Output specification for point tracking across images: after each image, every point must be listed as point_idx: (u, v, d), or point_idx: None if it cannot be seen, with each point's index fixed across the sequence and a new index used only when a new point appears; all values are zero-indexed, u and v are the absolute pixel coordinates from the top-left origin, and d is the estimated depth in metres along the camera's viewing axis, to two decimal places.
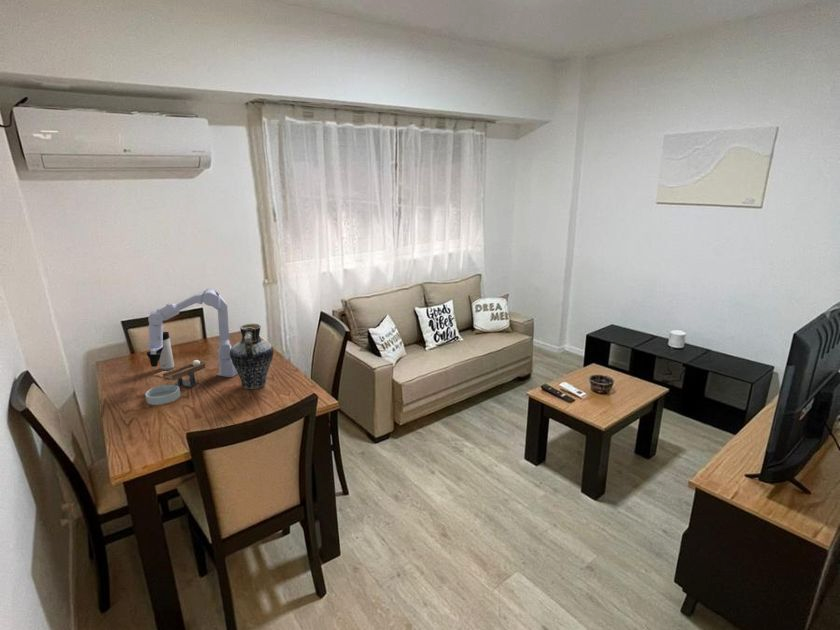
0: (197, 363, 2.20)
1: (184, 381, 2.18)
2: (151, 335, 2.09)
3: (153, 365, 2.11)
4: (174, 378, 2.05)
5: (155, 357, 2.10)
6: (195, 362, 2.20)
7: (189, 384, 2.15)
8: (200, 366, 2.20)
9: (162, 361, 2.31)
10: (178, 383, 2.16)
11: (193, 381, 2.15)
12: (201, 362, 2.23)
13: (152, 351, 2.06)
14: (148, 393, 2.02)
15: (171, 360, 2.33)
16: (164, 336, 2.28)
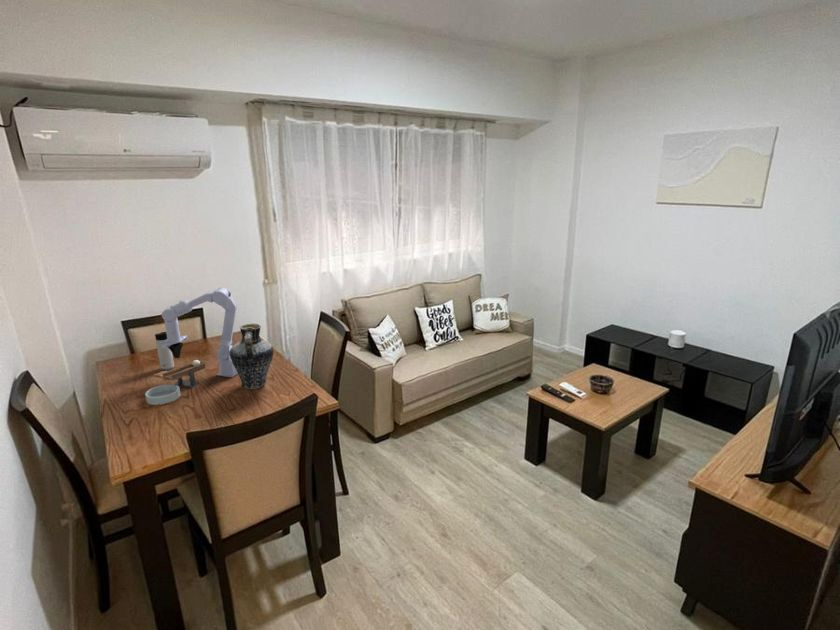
0: (197, 363, 2.20)
1: (184, 381, 2.18)
2: (167, 331, 2.15)
3: (175, 356, 2.21)
4: (174, 378, 2.05)
5: None
6: (195, 362, 2.20)
7: (189, 384, 2.15)
8: (200, 366, 2.20)
9: (162, 361, 2.31)
10: (178, 383, 2.16)
11: (193, 381, 2.15)
12: (201, 362, 2.23)
13: (162, 346, 2.13)
14: (148, 393, 2.02)
15: (171, 360, 2.33)
16: (164, 336, 2.28)
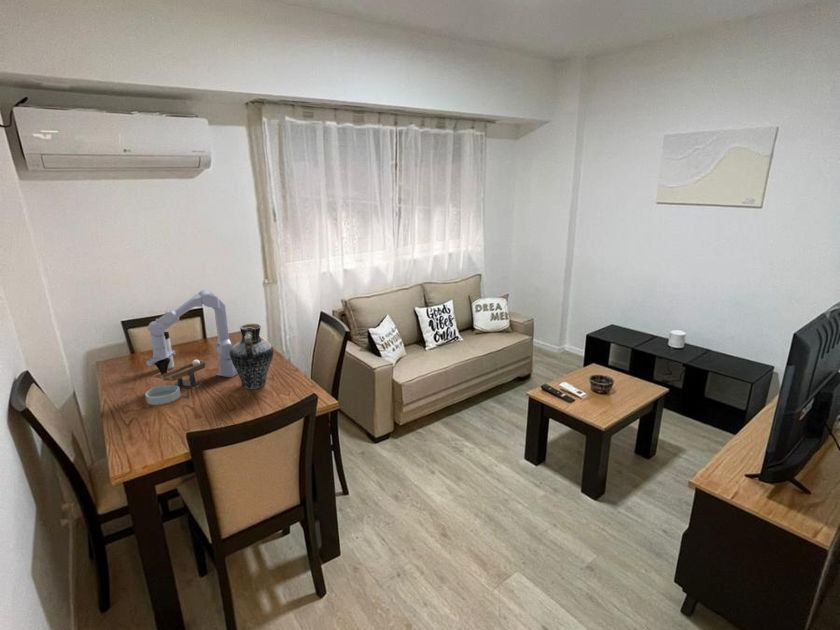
0: (197, 363, 2.20)
1: (184, 381, 2.18)
2: (156, 346, 2.04)
3: (162, 373, 2.10)
4: (174, 379, 2.05)
5: None
6: (195, 362, 2.20)
7: (189, 384, 2.15)
8: (200, 366, 2.20)
9: None
10: (178, 383, 2.16)
11: (193, 381, 2.15)
12: (201, 362, 2.23)
13: (147, 362, 2.02)
14: (148, 393, 2.02)
15: (171, 360, 2.33)
16: None
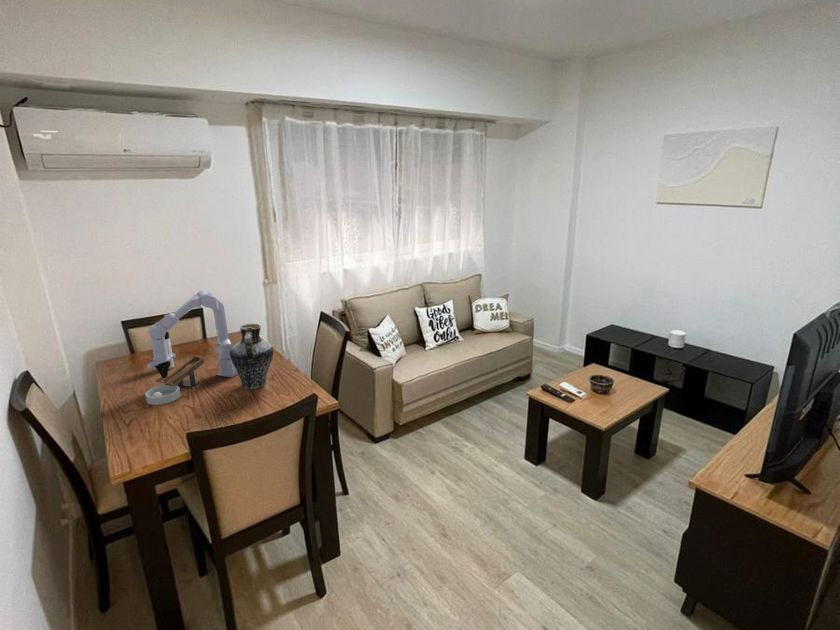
0: (161, 396, 2.01)
1: (184, 381, 2.18)
2: (156, 349, 2.04)
3: (162, 376, 2.10)
4: (175, 383, 2.06)
5: None
6: None
7: (189, 384, 2.15)
8: (199, 363, 2.19)
9: None
10: (178, 383, 2.16)
11: (193, 381, 2.15)
12: (199, 358, 2.21)
13: (148, 365, 2.02)
14: (148, 393, 2.02)
15: (171, 360, 2.33)
16: (164, 336, 2.28)
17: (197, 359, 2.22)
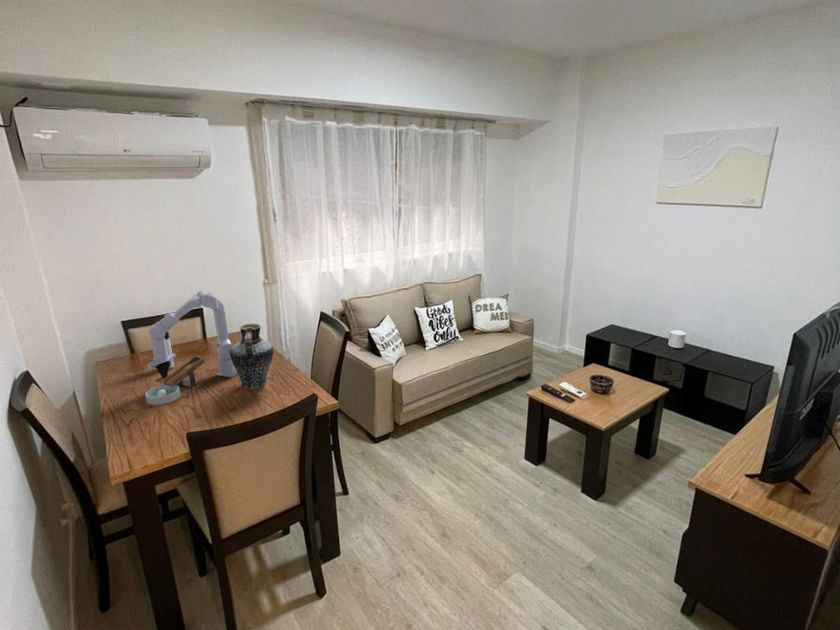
0: (164, 395, 2.02)
1: (184, 381, 2.18)
2: (156, 349, 2.04)
3: (162, 376, 2.10)
4: (175, 383, 2.06)
5: None
6: None
7: (189, 384, 2.15)
8: (199, 363, 2.19)
9: None
10: (178, 383, 2.16)
11: (193, 381, 2.15)
12: (199, 358, 2.21)
13: (148, 365, 2.02)
14: (148, 393, 2.02)
15: (171, 360, 2.33)
16: (164, 336, 2.28)
17: (197, 359, 2.22)
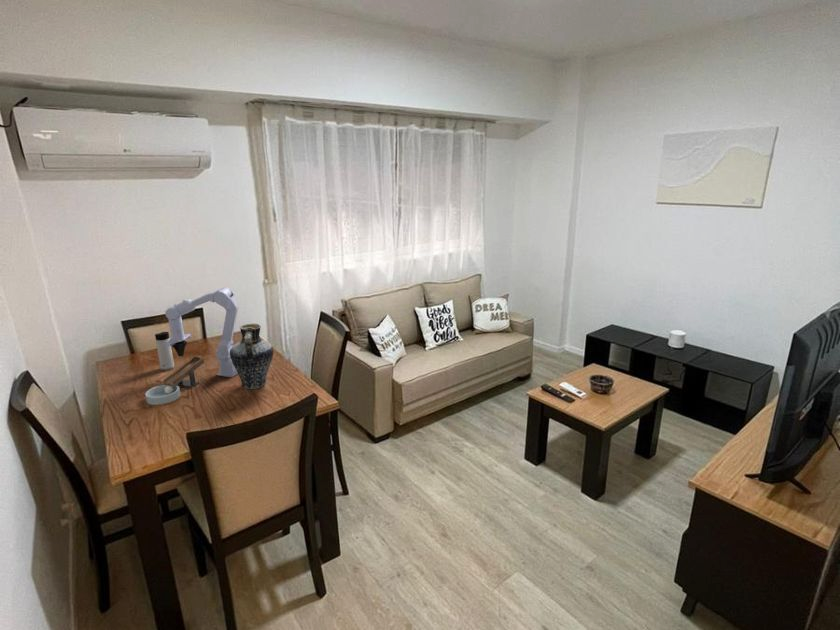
0: (170, 388, 2.05)
1: (184, 381, 2.18)
2: (171, 329, 2.18)
3: (179, 355, 2.24)
4: (175, 383, 2.06)
5: None
6: (168, 387, 2.05)
7: (189, 384, 2.15)
8: (199, 363, 2.19)
9: (162, 361, 2.31)
10: (178, 383, 2.16)
11: (193, 381, 2.15)
12: (199, 358, 2.21)
13: (166, 344, 2.15)
14: (148, 393, 2.02)
15: (171, 360, 2.33)
16: (164, 336, 2.28)
17: (197, 359, 2.22)
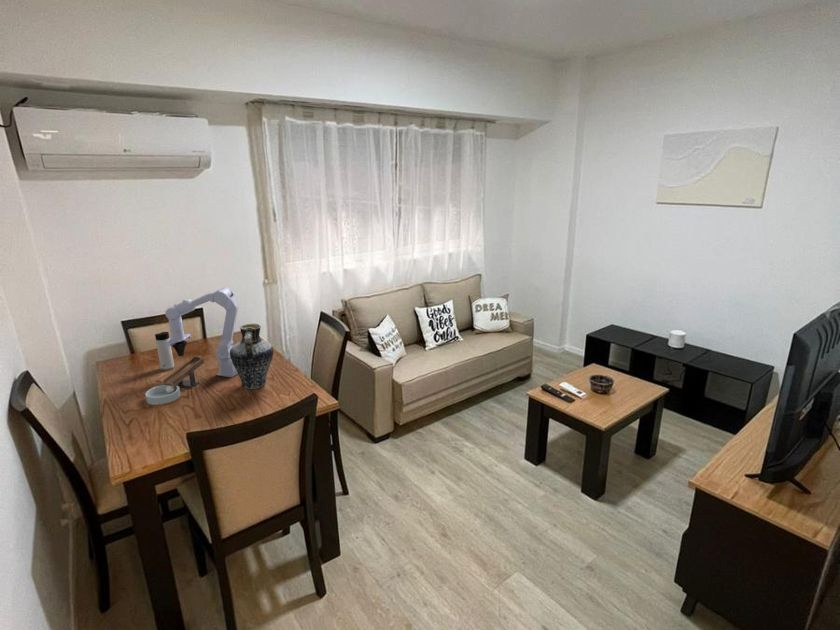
0: (172, 387, 2.06)
1: (184, 381, 2.18)
2: (171, 329, 2.18)
3: (179, 355, 2.24)
4: (175, 383, 2.06)
5: None
6: (171, 386, 2.07)
7: (189, 384, 2.15)
8: (199, 363, 2.19)
9: (162, 361, 2.31)
10: (178, 383, 2.16)
11: (193, 381, 2.15)
12: (199, 358, 2.21)
13: (166, 344, 2.15)
14: (148, 393, 2.02)
15: (171, 360, 2.33)
16: (164, 336, 2.28)
17: (197, 359, 2.22)
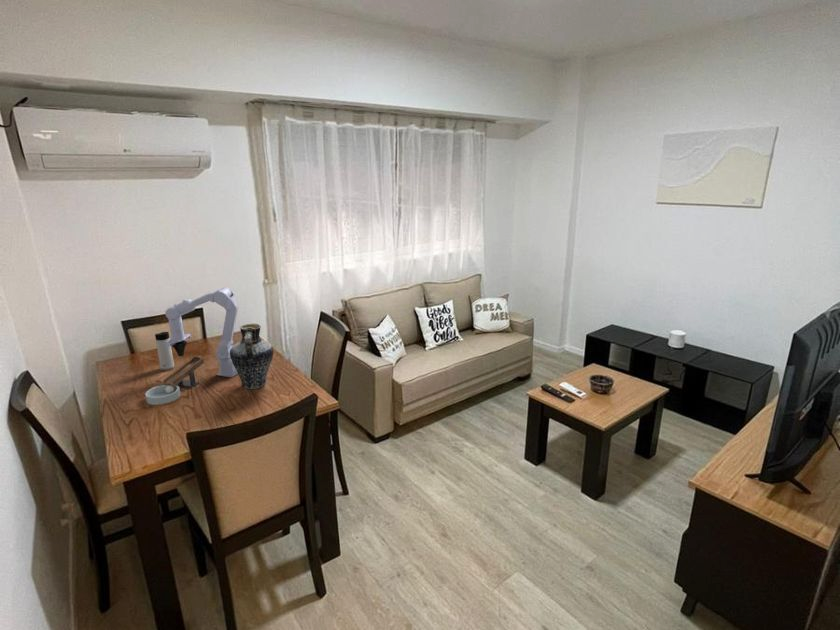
0: (172, 387, 2.06)
1: (184, 381, 2.18)
2: (171, 329, 2.18)
3: (179, 355, 2.24)
4: (175, 383, 2.06)
5: None
6: (170, 386, 2.06)
7: (189, 384, 2.15)
8: (199, 363, 2.19)
9: (162, 361, 2.31)
10: (178, 383, 2.16)
11: (193, 381, 2.15)
12: (199, 358, 2.21)
13: (166, 344, 2.15)
14: (148, 393, 2.02)
15: (171, 360, 2.33)
16: (164, 336, 2.28)
17: (197, 359, 2.22)
